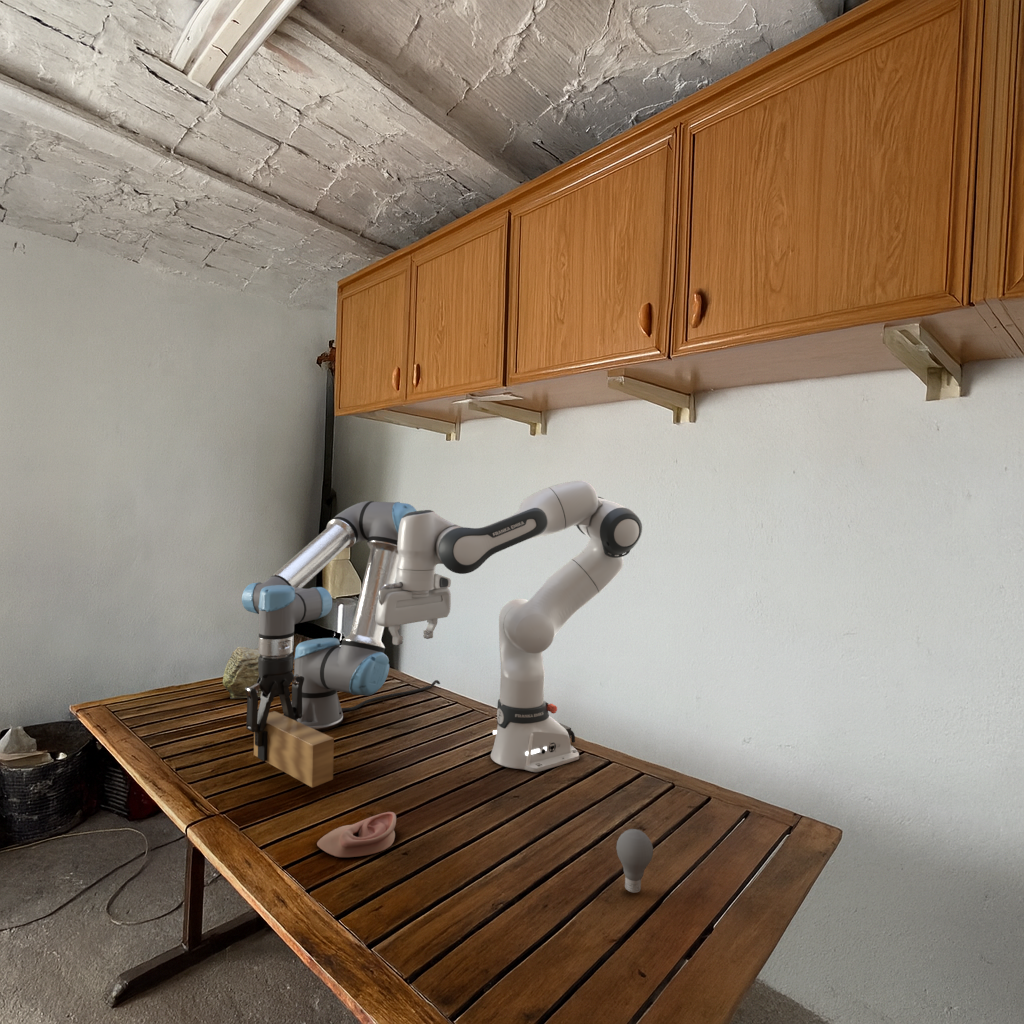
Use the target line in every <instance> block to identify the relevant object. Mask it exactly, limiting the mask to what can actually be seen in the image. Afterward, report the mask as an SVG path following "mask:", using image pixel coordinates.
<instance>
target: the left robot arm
mask: <svg viewBox="0 0 1024 1024" xmlns="http://www.w3.org/2000/svg"><path fill="white" fill-rule="evenodd" d="M414 511H417V509H416V508H415V507H414V506H413V505H411V504H410V503H406V502H405V503H404V502H400V501H396V502H393V501H374V500H373V501H372V500H365V501H360V502H357V503H355V504H353V505H351V506H349V507H347V508H345V509H344V510H342V511H341V512H339V513H338V514H336V515H335V516H334V517H333V518H331V519H330V520H329V521H328V522H327V524H326V528H325V529H324V530H323V531H322V532H321V533H319V534H318V535H317V536H316V537H315V538H314V539H313V540H311V541H310V542H309V543H308V544H306V545H305V546H304V547H303V548H302V549H301V550H299V552H298V553H296V554H295V555H294V556H293V557H292V558H290V560H288V561H287V562H286V563H285V564H284V565H282V566H281V567H280V568H279V569H277V571H276V572H274V573H273V574H272V575H271V576H270V577H269V578H268V579H266V580H265V581H264V582H260V581H258V582H251V583H249V584H248V585H246V587H245V588H244V589H243V591H242V595H241V603H242V607H243V608H244V609H245V610H246V611H248V612H250V613H253V614H257V615H258V645H257V646H258V653H259V654H260V656H259V658H258V672H259V678H258V680H257V683H256V684H255V685H253V686H251V687H249V686H247V687H246V688H245V691H246V694H247V698H246V723H245V724H246V726H245V728H246V730H248V731H249V732H252V733H254V732H255V745H256V746H258V757H257V759H259V760H261V761H263V762H265V761H267V745H268V732H267V731H265V726H266V722H267V718H268V714H269V713H270V711H271V710H270V709H271V706H272V702H273V701H274V699H275V697H276V696H278V698H279V701H280V705H281V709H282V713H283V715H284V716H286V717H289V718H291V719H293V720H295V721H297V722H300V723H302V724H304V725H306V726H308V727H310V728H313V729H315V730H317V731H319V732H325V731H329V730H332V729H335V728H337V727H339V726H340V725H342V723H343V722H344V714H343V712H352V711H355V710H357V709H359V708H361V707H362V706H365V705H366V704H369V703H372V702H376V701H380V700H383V699H390V698H394V697H400V696H405V695H406V696H407V695H410V694H415V693H420V692H423V691H426V690H429V689H431V688H433V687H434V686H435V685H440V684H441V682H440V681H439V680H438V679H435V680H434V681H433V682H432V683H431V684H430V685H431V686H429V685H426V686H423V687H420V688H415V689H411V690H406V691H401V692H395V693H390V694H389V693H388V694H384V695H380V696H376V697H372V698H368V699H366V700H363V701H361V702H360V703H358V704H356V705H354V706H350V707H342V706H341V702H340V699H339V695H338V692H342V693H347V694H351V695H353V696H365V697H369V696H372V695H374V694H376V693H377V692H378V691H379V690H381V688H382V687H383V685H384V684H385V682H386V680H387V678H388V675H389V672H390V663H389V662H390V660H389V656H387V654H385V649H386V647H385V644H384V643H383V642H382V637H383V635H384V630H385V627H383V626H379V625H378V624H377V623H376V621H375V615H376V607H377V602H378V598H379V590H380V589H381V588H382V587H383V586H384V585H385V584H393V583H396V569H397V563H398V559H399V554H398V550H397V543H398V531H399V525H400V521H401V519H402V517H403V516H404V515H405V514H407V513H409V512H414ZM364 541H366V545H367V547H368V548H369V549H370V552H369V556H368V560H367V564H366V569H365V572H364V576H363V580H362V584H361V587H360V591H359V596H358V600H357V605H356V608H355V612H354V615H353V620H352V623H351V628H350V631H349V634H348V635H346V636H344V638H342V639H341V640H342V641H341V643H340V640H339V638H336V637H322V638H313V639H307V640H304V641H302V642H299V643H298V644H297V645H296V647H295V642H294V641H295V640H294V639H295V625H297V624H301V623H305V622H309V621H315V620H319V619H320V618H323V617H326V616H327V615H328V614H330V612H331V611H332V608H333V597H332V595H331V592H329V590H328V589H326V588H325V587H322V586H316V587H315V586H312V587H310V588H304V587H305V586H306V585H307V584H308V583H309V582H310V581H312V580H313V579H314V577H315V576H317V575H318V574H319V573H320V572H321V571H322V570H323V569H325V567H327V565H328V564H330V563H331V562H332V561H333V560H334V559H335V558H336V557H337V556H338V555H340V554H341V552H343V550H345V549H349V548H352V547H353V546H354V545H355V544H356V543H359V542H364ZM384 589H385V588H384ZM340 644H341V645H340ZM294 647H295V648H294ZM294 649H295V650H294ZM294 651H295V652H294ZM293 653H295V654H294V655H293ZM290 686H291V692H290ZM259 689H261V691H262V692H261V696H260V697H258V694H259ZM259 698H260V701H259Z"/></svg>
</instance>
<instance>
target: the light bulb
mask: <svg viewBox="0 0 1024 1024" xmlns="http://www.w3.org/2000/svg"><path fill="white" fill-rule="evenodd" d="M615 849H616V854H617V857H618V859H619V861H620V863H621V865H622V867H623V873H624V874H623V875H624V876H625V878H624V888H625V890H627V891H628V892H630V893H634V894H635V893H639V892H640V891H641V889H642V887H641V886H642V879H643V877H644V875H645V871H646V868H647V867H648V866H649V864H650V863H651V861H652V859H653V855H654V847H653V843H652V841H651V838H649V836H648V835H647V834H646V833H645V832H643V831H642V830H641V829H636V828H629V829H627V830H625V831H623V832H622V833H621V834H620V835H619V837H618V839H617V841H616V847H615Z"/></svg>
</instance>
